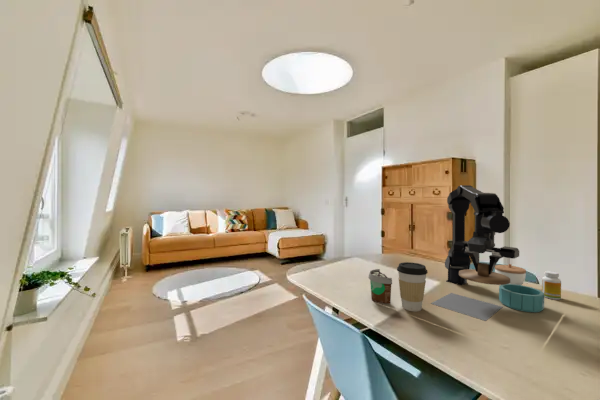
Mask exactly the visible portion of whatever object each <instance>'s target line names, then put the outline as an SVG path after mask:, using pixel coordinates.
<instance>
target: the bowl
mask: <svg viewBox="0 0 600 400" xmlns="http://www.w3.org/2000/svg"><path fill="white" fill-rule="evenodd" d="M498 291H499V292H498V301H500V303H501V304H502V305H504V306H505V307H507V308H510V309H513V310H516V311H521V312H525V313H526V312H527V313H540V312H542V311H543V310H544V309H545V297H544V293H543V292H542V290H540V289H537V288H534V287H532V286H527V285H524V284H522V285H517V284H504V285H499V286H498Z"/></svg>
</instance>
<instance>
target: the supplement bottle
mask: <svg viewBox="0 0 600 400" xmlns="http://www.w3.org/2000/svg"><path fill="white" fill-rule="evenodd" d="M559 276H560V274H559V272H557V271H552V270H545V271H544V276H542V278H541V291H542V292H543V293H544V298H545V299H550V300H556V301H558V300H562V280H561V278H559Z"/></svg>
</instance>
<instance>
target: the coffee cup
mask: <svg viewBox="0 0 600 400" xmlns="http://www.w3.org/2000/svg"><path fill="white" fill-rule="evenodd" d="M396 271H397V272H398V286H399V287H398V288H399V294H400V295H399V296H400V302H401V307H402V308H403V309H404V310H405V311H410V312H420V311H422V308H423V302H424V297H425V288H426V282H427V281H426V278H427V275H428V273H429V272H428V269H427V268H426V266H425V265H424V264H422V263H418V262H412V261H411V262H409V261H408V262H407V261H405V262H400V263H399V264H398V266H397V268H396Z"/></svg>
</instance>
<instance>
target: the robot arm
mask: <svg viewBox="0 0 600 400" xmlns="http://www.w3.org/2000/svg"><path fill="white" fill-rule="evenodd" d="M446 203H447V205H448V209H449V211H450V212H451V213H452V246H451V248H450V249H449V250H448V251H447V256H446V258H445V261H444V267H445V269H447V279H446V280H445V281H446V282H447V283H450V284H451V283H452V284H455V285H460V286H463V285H465V284H467V283H468V280H467V279H464V278H462V277H461V276H459V271H460V270H465V269H471V268H470V267H471V262H472V265H473V266H474V267H473V268H474V269H475V270H476V272H478V263H480V254H485V253H486V252H487V253H491V255H489V256H488V257H489V259H488V260H489V263H488V264H489V274H491V273H492V272H494V270H495V266H496V265H497V263H498V262H499V260H500V259H502V258H506V259H507V258H508V259H517V258H519V257H520V250H519V248H518V247H512V246H502V247H496V243H495V235H496V234H497V233H498V234H503V233H505V232H507V231H508V230H509V229H510V226H511V223H510V221H509V219H508V218H507V217H506V216H505V215H504V213H505V211H504V210H505V208H504V205H503V204H502V202H501V200H500V197H499V196H498V195H497V194H496V193H493V192H482V191H481V190H479V189H477V188H475V187H473V185H470V184H469V185H463V184H461V185H457V187H456V189H454V190H453V191H450V192H449V194H448V196H447V199H446ZM470 206H471V207H472V209H473V210H474V212H473V215H474V231H473V234H472V237H471V238H470V239H469V240H468V241H467V240H465V239H466V238H465V237H466V236H465V235H466V233H465V232H466V231H465V230H466V227H465V226H466V225H465V224H466V223H465V222H466V219H465V218H466V213H467V212H468V210H470Z"/></svg>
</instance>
